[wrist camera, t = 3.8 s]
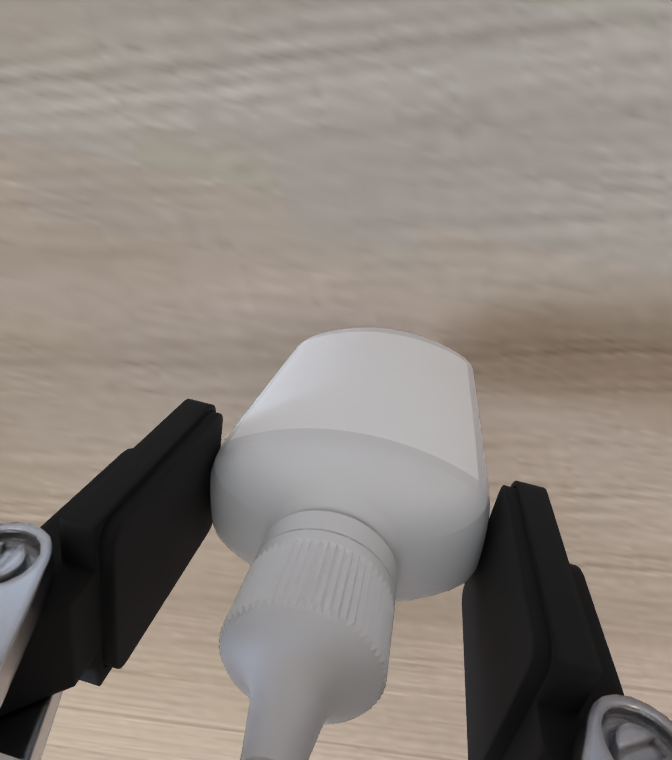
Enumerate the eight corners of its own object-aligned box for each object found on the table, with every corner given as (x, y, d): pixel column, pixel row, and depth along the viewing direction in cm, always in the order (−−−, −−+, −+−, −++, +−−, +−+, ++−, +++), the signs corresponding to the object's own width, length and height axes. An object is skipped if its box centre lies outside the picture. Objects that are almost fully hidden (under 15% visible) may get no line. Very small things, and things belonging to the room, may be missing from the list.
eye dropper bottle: (347, 271, 16) (126, 526, 5) (496, 375, 16) (607, 832, 5) (278, 377, 17) (5, 733, 7) (412, 467, 18) (363, 945, 7)
